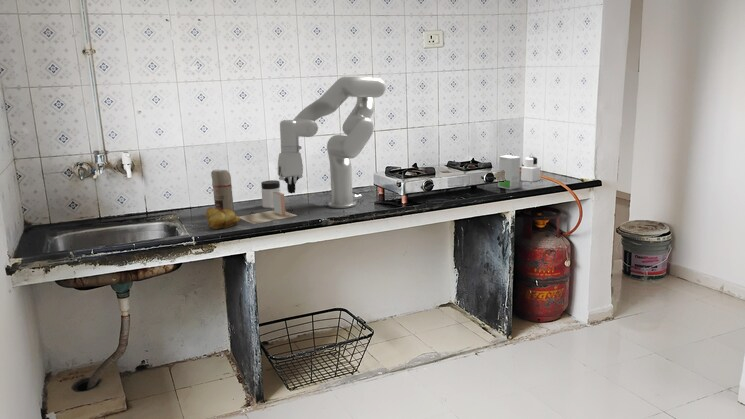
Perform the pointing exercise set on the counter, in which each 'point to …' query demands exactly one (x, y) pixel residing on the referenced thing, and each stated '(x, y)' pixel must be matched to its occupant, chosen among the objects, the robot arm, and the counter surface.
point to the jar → (269, 192)
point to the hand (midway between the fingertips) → (291, 192)
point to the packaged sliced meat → (265, 217)
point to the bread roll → (221, 218)
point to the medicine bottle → (530, 170)
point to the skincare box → (510, 171)
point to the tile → (279, 203)
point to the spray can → (222, 189)
